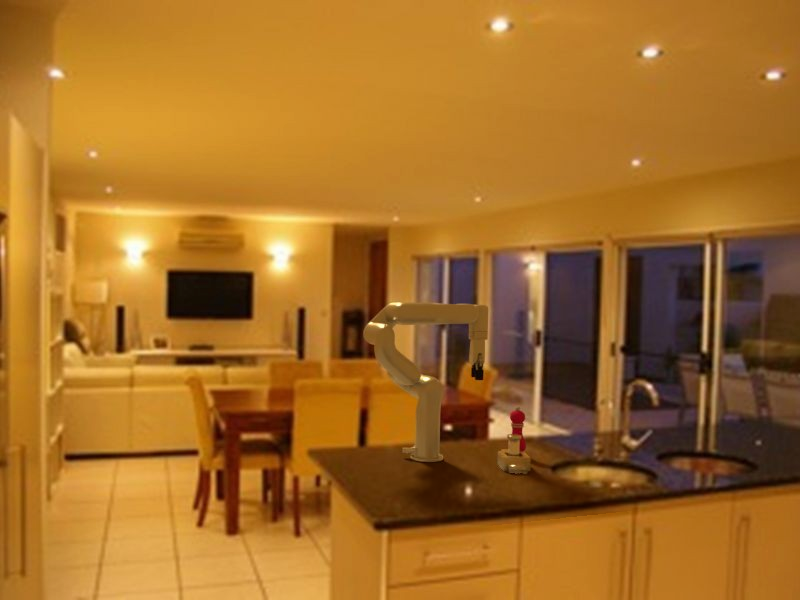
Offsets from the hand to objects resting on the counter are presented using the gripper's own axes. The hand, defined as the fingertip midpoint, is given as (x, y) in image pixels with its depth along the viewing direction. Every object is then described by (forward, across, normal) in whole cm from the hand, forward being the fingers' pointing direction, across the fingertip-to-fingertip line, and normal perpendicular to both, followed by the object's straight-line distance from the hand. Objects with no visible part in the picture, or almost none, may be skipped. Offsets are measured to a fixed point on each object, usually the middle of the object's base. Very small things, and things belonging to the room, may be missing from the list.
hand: (477, 378), depth 273 cm
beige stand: (+30, +20, +11) cm, 38 cm away
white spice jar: (+30, +20, +11) cm, 38 cm away
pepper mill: (+31, +3, +16) cm, 35 cm away
